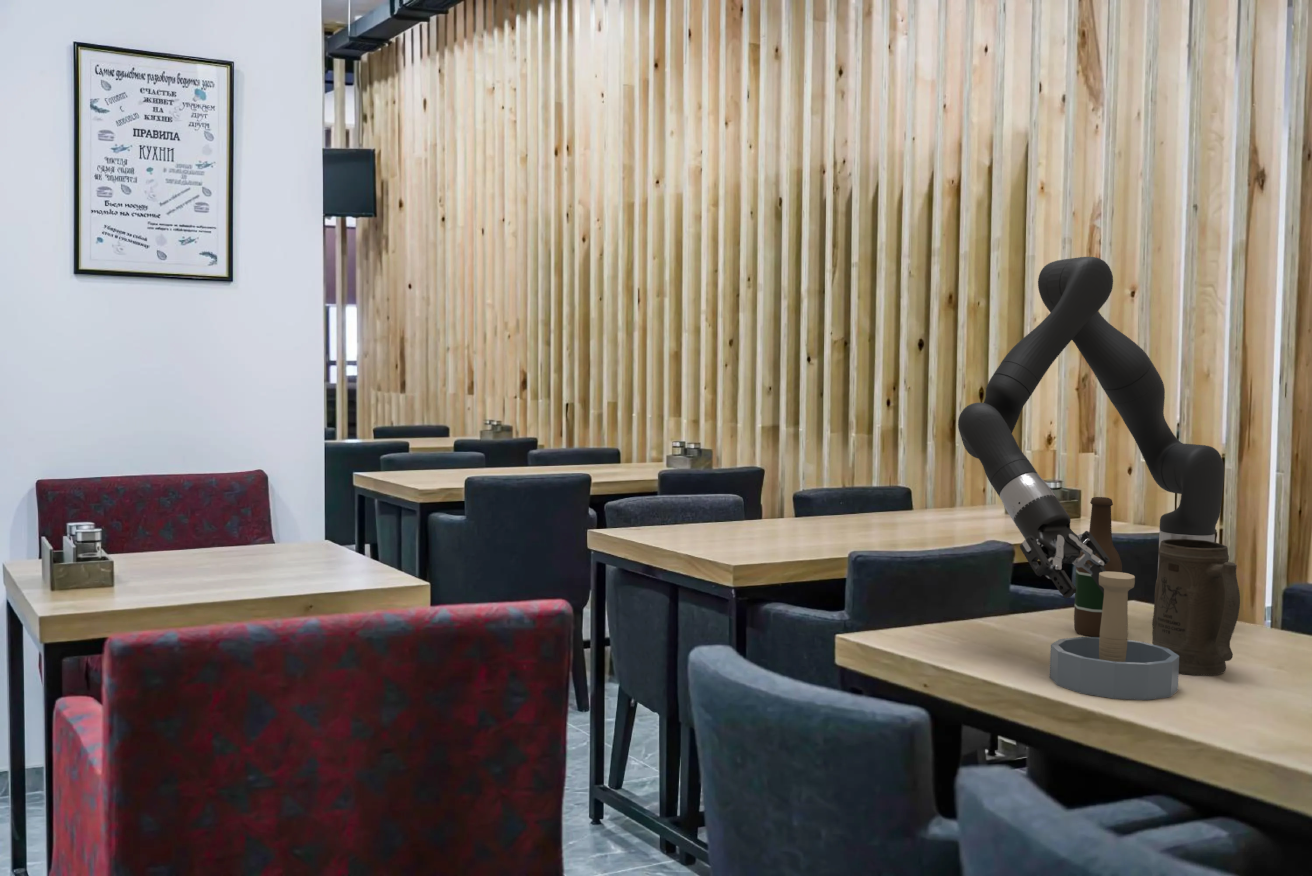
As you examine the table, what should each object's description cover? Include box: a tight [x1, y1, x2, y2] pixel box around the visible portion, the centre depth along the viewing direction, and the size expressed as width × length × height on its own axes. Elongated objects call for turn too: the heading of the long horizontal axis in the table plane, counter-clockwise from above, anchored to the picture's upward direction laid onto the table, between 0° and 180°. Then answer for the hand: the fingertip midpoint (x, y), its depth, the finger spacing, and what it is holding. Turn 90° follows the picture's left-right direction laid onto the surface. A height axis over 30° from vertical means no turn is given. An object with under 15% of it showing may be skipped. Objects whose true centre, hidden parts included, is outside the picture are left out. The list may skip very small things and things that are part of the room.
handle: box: [1099, 571, 1136, 662], centre depth 174 cm, size 5×6×15 cm
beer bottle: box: [1073, 496, 1123, 637], centre depth 208 cm, size 8×8×24 cm
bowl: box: [1049, 636, 1180, 701], centre depth 174 cm, size 17×17×5 cm
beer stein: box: [1151, 539, 1241, 676], centre depth 183 cm, size 15×11×20 cm
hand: (1091, 592), depth 178 cm, fingers open, 8 cm apart
